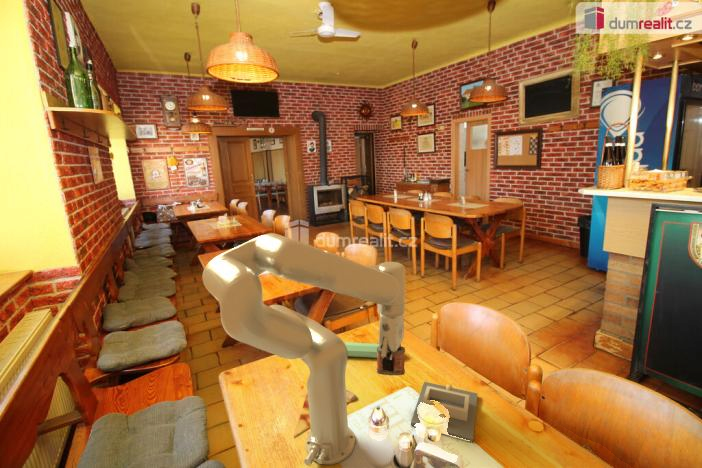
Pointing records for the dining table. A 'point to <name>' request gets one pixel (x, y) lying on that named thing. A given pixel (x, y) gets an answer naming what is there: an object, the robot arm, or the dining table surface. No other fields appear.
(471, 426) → the holder
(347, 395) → the pizza slice
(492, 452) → the dining table surface
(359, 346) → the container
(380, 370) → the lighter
